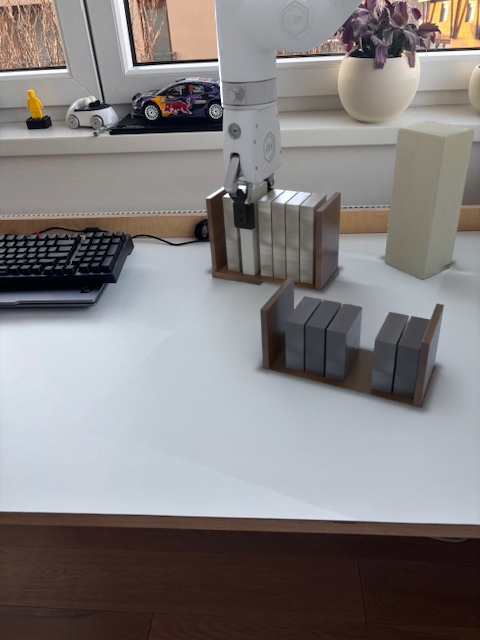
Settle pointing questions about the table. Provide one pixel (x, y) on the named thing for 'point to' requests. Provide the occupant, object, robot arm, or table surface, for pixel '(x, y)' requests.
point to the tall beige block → (427, 196)
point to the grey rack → (349, 347)
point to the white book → (252, 235)
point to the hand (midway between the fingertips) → (254, 218)
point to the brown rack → (279, 238)
